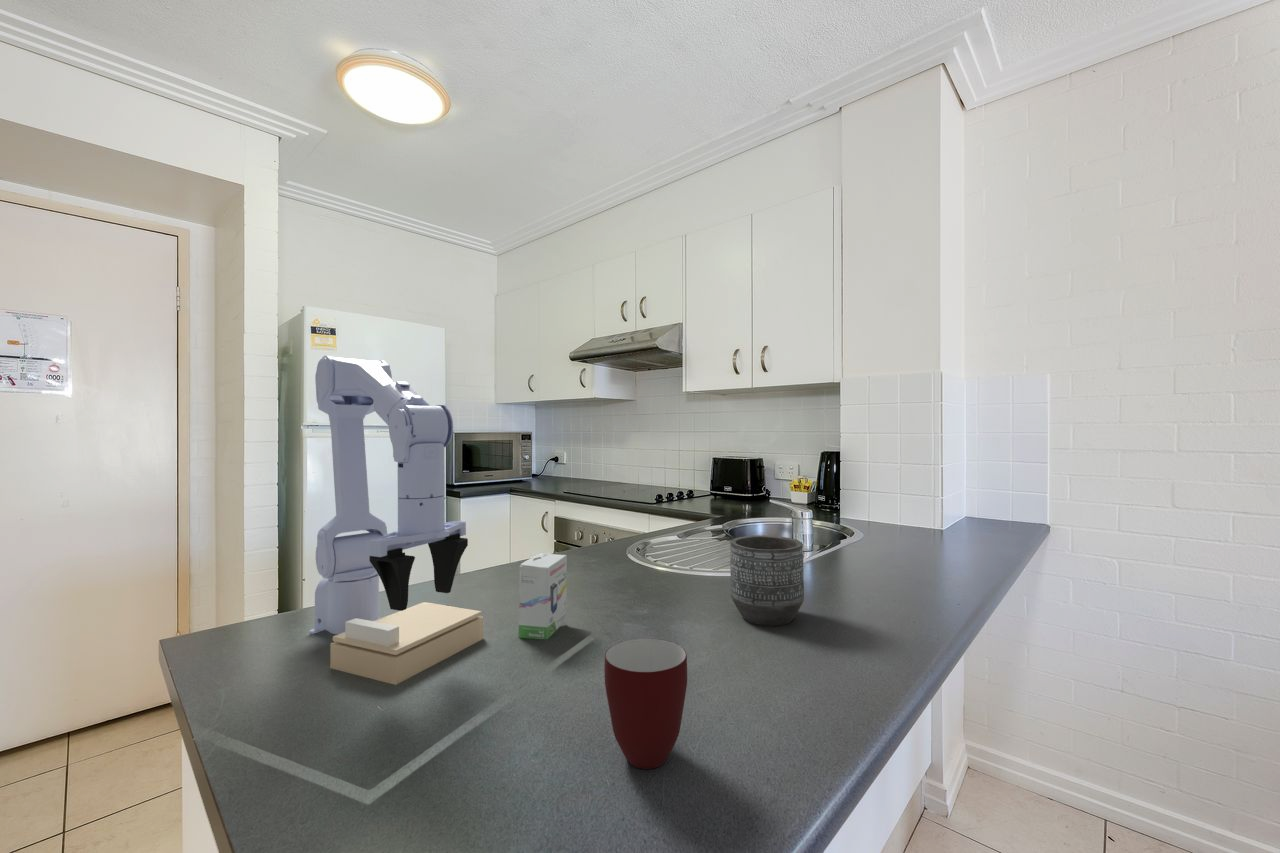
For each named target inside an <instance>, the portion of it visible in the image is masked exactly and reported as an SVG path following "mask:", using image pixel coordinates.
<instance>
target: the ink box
mask: <svg viewBox="0 0 1280 853" xmlns="http://www.w3.org/2000/svg"><path fill="white" fill-rule="evenodd" d="M567 556H568V555H567V554H555V553H554V554H553V553H545V552H544V553H543V552H540V553H538V554H536V555H534V556H532V557H530V558H529V559H527V560H525V561H523V562H521V563H520V565H519V583H518V584H519V585H518V586H519V588H518V590H519V591H518V596H519V597H518V638H520V639H531V640H548V639H550V637H551V636H552V635H553V634H554V633H555V632H556V631H557V630H558V629H560V627H564V626H565V625H566V624H567V596H568V595H567V594H568V593H567V578H568V577H567V576H568V574H567V573H568V571H567V569H568V567H567V566H568V563H567V562H568V557H567Z"/></svg>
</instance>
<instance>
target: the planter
mask: <svg viewBox="0 0 1280 853" xmlns="http://www.w3.org/2000/svg"><path fill="white" fill-rule="evenodd" d="M729 544H730V547H729V548H730V554H729V555H730V556H729V559H730V560H729V562H730V564H729V566H730V586H729V587H730V590H729V591H730V598H731V600H732V602H733V603H734V605H735V608H736V609H737V611H738V612H739V614H740V615H741V616H742V618H743V619H744V620H745V621H747V622H748V623H751V624H755V625H758V626H759V625H760V626H765V627H767V626H768V627H770V626H771V627H777V626H784V625H787V624H790V623H791V622H792V621H793V620H794V618H795V616H796V615H797V613H798V612H799V611H800V609H801V607H802V605H803V603H804V601H805V600H804V599H805V598H804V597H805V583H804V582H805V581H804V579H805V578H804V575H805V574H804V570H805V569H804V568H805V567H804V566H805V565H804V544H803V542H802V541H800V540H798V539H795V538H791V537H786V536H775V535H747V536H745V535H743V536H739V537H736V538H732V539H731V540H730V543H729Z"/></svg>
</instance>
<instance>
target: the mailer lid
mask: <svg viewBox="0 0 1280 853" xmlns="http://www.w3.org/2000/svg"><path fill="white" fill-rule="evenodd" d="M479 616H480V617H482V611H481V610H475V609H471V608H470V609H469V608H462V607H457V606H452V605H451V606H450V605H444V604H439V603H433V602H427V601H426V602H425V601H423V602H420V603H417V604H415V605H413V606H410V607H407V608H406V610H403V611H399V610H398V611H396V612H393V613H391V614H389V615H386V616H384V617H379V619H378V620H375V621H368V620H363V619H358V618H355V619H352V620H350V621H347V622H345V632H343V633H341V634H334V635H333V636H332V642H339V643H344V644H348V645H353V646H357V647H362V648H366V649H370V650H375V651H379V652H384V653H388V654H393V655H397V654H399V653H402V652H404V651H406V650H408V649H410V648H412V647H414V646H417V645H419V644H421V643H423V642H425V641H427V640H430V639H432V638H434V637H436V636H438V635H440V634H442V633H445V632H447V631H449V630H451V629H453V628H455V627H457V626H460V625H462V624H464V623H466V622H468V621H470V620H473V619H475V618H477V617H479Z"/></svg>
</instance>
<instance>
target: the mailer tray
mask: <svg viewBox="0 0 1280 853" xmlns="http://www.w3.org/2000/svg"><path fill="white" fill-rule="evenodd" d="M484 627H485V626H484V616H479V617H477V618H475V619H473V620H470V621H468V622H466V623H464V624H462V625H460V626H457V627H455V628H453V629H451V630H449V631H447V632H445V633H442V634H440V635H438V636H436V637H434V638H432V639H430V640H427V641H425V642H423V643H421V644H419V645H417V646H414V647H412V648H410V649H408V650H406V651H404V652H402V653H399V654H397V655H393V654H388V653H384V652H379V651H375V650H370V649H366V648H362V647H357V646H353V645H348V644H344V643H339V642H335V641H332V642H331V643H330V644H329V645H330V650H329V651H330V655H329V656H330V658H329V659H330V666H329V667H330V669H333V670H336V671H341V672H343V673H349V674H352V675H355V676H360V677H364V678H368V679H371V680H375V681H379V682H383V683H387V684H391V685H395V686H397V685H399V684H400V683H402V682H404V681H407V680H408V679H410V678H411V677H412V678H413V677H414V676H417V674H419V673H422V672H423V671H425V670H426V669H429V668H431V667H433V666H435V665H436V664H439V663H440V662H442V661H444V660H446V659H447V658H450V657H451V656H453V655H456V654H457V653H459V652H461V651H463V650H465V649H466V648H468V647H471V646H472V645H474V644H476V643H478V642H480V641H482V640H484V637H485V636H484V635H485V634H484Z"/></svg>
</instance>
